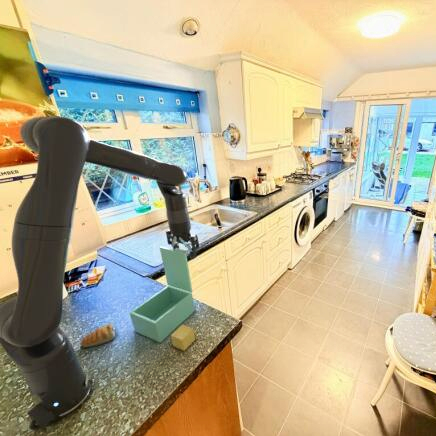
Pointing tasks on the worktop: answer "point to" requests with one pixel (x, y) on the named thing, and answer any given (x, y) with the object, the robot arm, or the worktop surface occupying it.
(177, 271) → the lid
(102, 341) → the pastry
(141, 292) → the worktop surface
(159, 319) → the cool box
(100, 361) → the worktop surface
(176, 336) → the block
